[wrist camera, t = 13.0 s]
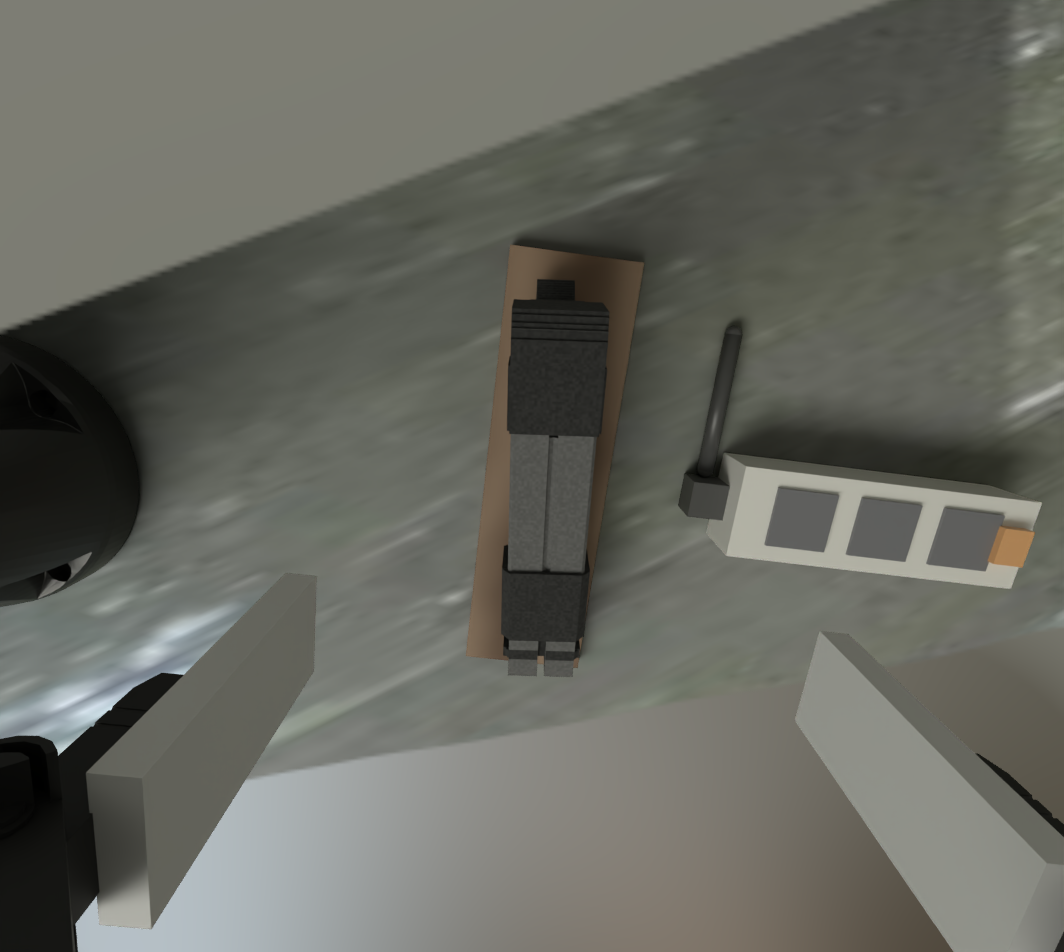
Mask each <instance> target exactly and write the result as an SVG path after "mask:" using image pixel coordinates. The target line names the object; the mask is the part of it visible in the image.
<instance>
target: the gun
mask: <svg viewBox="0 0 1064 952" xmlns="http://www.w3.org/2000/svg"><path fill="white" fill-rule="evenodd" d="M609 313H610V312H609V310H608V309H607V308H606V306H605V305H604V304H603V303H601V302H585V301H575V280H552V279H537V293H536V299H530V300H521V299H514V300H513V305H512V318H511V356H509V362H508V393H507V431H509V434H511V440H510V489H509V537H508V545H506V546H504V551H503V563H502V603H501V634H502V635H503V636H504V643H503V656H507V657H508V658H509V664H508V675H521V676H537V658H538V656H544V676H556V677H572V676H573V664H574V659H576V658H579V656H580V643H579V639H580V638H582V637H584V628H585V618H586V608H587V597H588V587H589V577H590V567H589V561H588V554H587V538H588V527H589V516H590V505H591V494H592V483H593V472H594V461H595V451H596V440H597V437H599V434H601V431H602V421H603V410H604V400H605V389H606V379H607V367H606V360H607V349H608V335H609Z"/></svg>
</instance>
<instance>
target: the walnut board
mask: <svg viewBox="0 0 1064 952" xmlns="http://www.w3.org/2000/svg"><path fill="white" fill-rule="evenodd" d="M643 268H644V263H642V262H635V261H627V260H620V259H613V258H605V257H598V256H590V255H583V254H576V253H568V252H561V251H553V250H546V249H539V248H531V247H524V246H516V245H510V253H509V262H508V271H507V281H506V290H505V299H504V308H503V318H502V327H501V336H500V345H499V355H498V364H497V373H496V382H495V391H494V401H493V410H492V419H491V428H490V438H489V447H488V456H487V465H486V475H485V484H484V493H483V502H482V512H481V521H480V530H479V539H478V548H477V558H476V567H475V576H474V585H473V595H472V604H471V613H470V622H469V632H468V641H467V650H466V656H471V657H480V658H490V659H499V660H508V661H509V658H508V657H507V656H503V643H504V636H503V635H502V634H501V603H502V563H503V551H504V546H506V545H508V537H509V489H510V440H511V434H509V431H507V393H508V362H509V356H511V318H512V305H513V300H514V299H521V300H530V299H536V293H537V279H552V280H575V301H585V302H601V303H603V304H604V305H605V306H606V308H607V309H608V310H609V312H610V313H609V335H608V349H607V360H606V367H607V379H606V389H605V400H604V410H603V421H602V431H601V434H599V437H597V440H596V451H595V461H594V472H593V483H592V494H591V505H590V516H589V527H588V538H587V554H588V561H589V567H590V577H589V587H588V597H587V607H588V601H589V595H590V589H591V583H592V577H593V571H594V565H595V559H596V553H597V547H598V541H599V535H600V529H601V522H602V516H603V510H604V504H605V498H606V492H607V486H608V480H609V474H610V468H611V462H612V456H613V450H614V444H615V438H616V431H617V425H618V419H619V413H620V407H621V401H622V395H623V389H624V383H625V377H626V371H627V365H628V359H629V353H630V347H631V340H632V334H633V328H634V322H635V316H636V310H637V304H638V298H639V292H640V286H641V280H642V274H643ZM586 613H587V608H586ZM585 620H586V618H585ZM582 638H583V637H582ZM582 638H580V639H579V643H580V650H581V644H582ZM578 662H579V658H576V659H574V664H573V668H578ZM537 664H544V656H538V658H537Z"/></svg>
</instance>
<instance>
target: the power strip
mask: <svg viewBox="0 0 1064 952" xmlns="http://www.w3.org/2000/svg"><path fill="white" fill-rule="evenodd" d="M741 339H742V330H741V329H740V328H739V327H737V326H731V327H729V328H728V329H727V330H726V332H725V336H724V340H723V345H722V350H721V355H720V360H719V365H718V370H717V375H716V380H715V385H714V389H713V394H712V399H711V404H710V409H709V414H708V419H707V424H706V429H705V433H704V438H703V443H702V448H701V453H700V458H699V463H698V468H697V472H698V474H699V475H695V474H687V473H685V474H684V479H683V484H682V489H681V494H680V499H679V504H678V506H679V507H680V508H681V509H682V511H683V512H684V513H685V514H686V515H687V516H688V517H696V518H705V519H709V523H708V527H707V532H706V534H707V535H708V536H709V537H710V538H711V539H712V540H713V542H714V543H715V544H716V545H717V546H718V547H719V548H720V549H721V551H722V552H723V553H724V554H725V555H726V556H732V557H741V558H749V559H758V560H767V561H775V562H784V563H792V564H801V565H810V566H818V567H827V568H835V569H844V570H852V571H861V572H870V573H878V574H887V575H895V576H904V577H912V578H921V579H930V580H938V581H947V582H955V583H964V584H972V585H981V586H990V587H998V588H1007V589H1011V587H1012V584H1013V581H1014V579H1015V576H1016V573H1017V570H1018V568H1019V567H1023V564H1024V561H1025V559H1026V556H1027V553H1028V551H1029V548H1030V545H1031V542H1032V540H1033V537H1034V534H1035V532H1033V531H1032V530H1033V527H1034V524H1035V521H1036V519H1037V516H1038V513H1039V511H1040V508H1041V505H1042V502H1039V501H1036V500H1033V499H1029V498H1026V497H1023V496H1020V495H1017V494H1014V493H1011V492H1008V491H1005V490H1002V489H999V488H996V487H993V486H990V485H983V484H975V483H967V482H959V481H951V480H943V479H935V478H927V477H919V476H910V475H902V474H894V473H886V472H878V471H870V470H862V469H854V468H846V467H838V466H829V465H821V464H813V463H805V462H797V461H789V460H781V459H773V458H765V457H756V456H748V455H740V454H732V453H723V457H722V462H721V467H720V471H719V476H718V477H711V475H712V474H713V471H714V466H715V461H716V457H717V452H718V447H719V443H720V438H721V433H722V428H723V424H724V419H725V414H726V410H727V405H728V400H729V395H730V391H731V386H732V381H733V377H734V372H735V367H736V362H737V358H738V353H739V348H740V344H741Z"/></svg>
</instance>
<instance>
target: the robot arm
mask: <svg viewBox="0 0 1064 952" xmlns="http://www.w3.org/2000/svg"><path fill="white" fill-rule="evenodd" d="M138 495H139V484H138V473H137V467H136V463H135V459H134V455H133V452H132V448H131V445H130V443H129V440H128V438H127V436H126V434H125V431H124V429H123V427H122V426H121V424H120V422H119V420H118V418H117V417H116V415H115V414H114V412H113V411H112V409H111V408H110V406H109V405H108V404H107V402H106V401H105V400H104V399H103V397H102V396H101V395H100V394H99V393H98V392H97V391H96V389H95V388H94V387H93V386H92V385H91V384H90V383H89V382H88V381H86V380H85V379H84V378H83V377H82V376H81V375H80V374H79V373H77V372H76V371H75V370H74V369H72V368H71V367H70V366H68V365H67V364H65V363H64V362H62V361H61V360H59V359H58V358H56V357H54V356H53V355H51V354H49V353H47V352H45V351H43V350H41V349H39V348H37V347H35V346H32V345H30V344H27V343H25V342H22V341H19V340H15V339H12V338H8V337H4V336H0V607H4V606H9V605H15V604H20V603H25V602H30V601H34V600H38V599H41V598H44V597H47V596H50V595H52V594H55V593H57V592H59V591H61V590H64V589H66V588H67V587H69V586H71V585H73V584H75V583H76V582H78V581H80V580H82V579H84V578H86V577H87V576H89V575H91V574H93V573H94V572H96V571H97V570H99V569H100V568H102V567H103V566H104V565H105V564H106V563H108V562H109V561H110V560H111V559H112V558H113V557H114V556H115V554H116V553H117V552H118V551H119V550H120V548H121V547H122V545H123V544H124V542H125V540H126V539H127V537H128V535H129V533H130V530H131V528H132V525H133V523H134V520H135V516H136V511H137V505H138ZM316 580H317V576H311V575H301V574H292V573H285V574H284V575H283V576H282V577H281V578H280V579H279V580H278V581H277V582H276V583H275V584H274V585H273V586H272V587H271V588H270V589H269V590H268V591H267V592H266V593H265V594H264V595H263V596H262V597H261V598H260V599H259V600H258V601H257V602H256V603H255V604H254V605H253V606H252V607H251V608H250V609H249V610H248V611H247V612H246V613H245V614H244V615H243V616H242V617H241V618H240V619H239V620H238V621H237V622H236V623H235V624H234V625H233V626H232V627H231V628H230V629H229V630H228V631H227V632H226V633H225V634H224V635H223V636H222V637H221V638H220V639H219V640H218V641H217V642H216V643H215V644H214V645H213V646H212V647H211V648H210V649H209V650H208V651H207V652H206V653H205V654H204V655H203V656H202V657H201V658H200V659H199V660H198V661H197V662H196V663H195V664H194V665H193V666H192V667H191V668H190V669H189V670H188V671H187V672H186V673H185V674H184V675H179V674H169V673H161V674H159V675H157V676H155V677H153V678H151V679H149V680H147V681H145V682H144V683H142V684H140V685H138V686H136V687H134V688H133V689H132V690H131V691H129V692H128V693H127V694H126V695H125V696H124V697H123V698H122V699H121V700H119V701H118V702H117V703H116V704H115V705H114V706H113V708H112V710H111V711H110V710H108V711H107V712H106V713H105V714H104V715H103V716H102V717H101V718H100V719H98V720H97V721H96V722H95V725H94V727H90V728H88V729H87V730H86V731H85V732H84V733H83V734H82V735H81V736H80V737H79V738H77V739H76V740H75V741H74V742H73V743H72V744H71V745H70V746H69V747H67V748H66V749H65V750H64V751H63V752H62V753H61V754H60V755H59V756H58V752H57V749H56V747H55V746H54V744H53V742H52V741H50V740H48V739H45V738H42V737H40V736H14V737H9V738H4V739H0V952H78V947H77V935H76V926H75V923H76V922H77V921H78V920H79V918H80V917H81V916H82V914H83V913H84V912H85V910H86V909H87V908H88V906H89V905H90V904H91V903H92V901H93V900H94V899H95V897H96V896H97V903H98V914H99V924H100V925H106V926H119V927H130V928H143V929H152V927H153V926H154V924H155V923H156V921H157V919H158V918H159V916H160V914H161V913H162V912H163V910H164V908H165V907H166V905H167V904H168V902H169V900H170V899H171V897H172V896H173V894H174V892H175V891H176V889H177V887H178V886H179V885H180V883H181V881H182V880H183V878H184V877H185V875H186V873H187V872H188V870H189V869H190V867H191V865H192V864H193V862H194V861H195V859H196V858H197V856H198V854H199V853H200V851H201V850H202V848H203V846H204V845H205V843H206V842H207V840H208V838H209V837H210V835H211V834H212V832H213V831H214V829H215V827H216V826H217V824H218V823H219V821H220V819H221V818H222V816H223V815H224V813H225V811H226V810H227V808H228V807H229V805H230V804H231V802H232V800H233V799H234V797H235V796H236V794H237V792H238V791H239V789H240V788H241V786H242V784H243V783H244V781H245V780H246V778H247V777H248V775H249V773H250V772H251V770H252V769H253V767H254V765H255V764H256V762H257V761H258V759H259V757H260V756H261V754H262V753H263V751H264V750H265V748H266V746H267V745H268V743H269V742H270V740H271V738H272V737H273V735H274V734H275V732H276V730H277V729H278V727H279V726H280V724H281V723H282V721H283V719H284V718H285V716H286V715H287V713H288V711H289V710H290V708H291V707H292V705H293V703H294V702H295V700H296V699H297V697H298V696H299V694H300V692H301V691H302V689H303V688H304V686H305V684H306V683H307V681H308V680H309V678H310V676H311V675H312V673H313V672H314V648H315V614H316ZM795 721H796V723H797V724H798V726H799V727H800V729H801V730H802V732H803V733H804V734H805V736H806V737H807V739H808V740H809V742H810V743H811V745H812V746H813V748H814V749H815V750H816V752H817V753H818V755H819V756H820V758H821V759H822V760H823V762H824V763H825V765H826V767H827V768H828V769H829V771H830V772H831V774H832V775H833V777H834V778H835V780H836V781H837V782H838V784H839V785H840V787H841V788H842V790H843V791H844V793H845V794H846V796H847V797H848V799H849V800H850V801H851V803H852V804H853V806H854V807H855V809H856V810H857V812H858V813H859V814H860V816H861V817H862V819H863V820H864V822H865V823H866V825H867V826H868V828H869V829H870V831H871V832H872V833H873V835H874V836H875V838H876V839H877V841H878V842H879V844H880V845H881V846H882V848H883V849H884V851H885V852H886V854H887V855H888V857H889V858H890V859H891V861H892V862H893V864H894V865H895V867H896V868H897V870H898V871H899V873H900V874H901V876H902V877H903V879H904V880H905V881H906V883H907V884H908V886H909V887H910V888H911V890H912V892H913V893H914V895H915V896H916V897H917V899H918V900H919V902H920V903H921V905H922V906H923V908H924V909H925V910H926V912H927V913H928V915H929V916H930V918H931V919H932V921H933V922H934V924H935V925H936V927H937V928H938V929H939V931H940V932H941V934H942V935H943V937H944V938H945V939H946V941H947V943H948V944H949V945H950V947H951V948H952V950H953V951H954V952H1064V824H1063V823H1061V822H1060V821H1059V820H1058V819H1056V818H1053V817H1052V813H1050V812H1049V811H1048V810H1047V809H1046V808H1045V807H1044V806H1043V805H1042V804H1041V803H1040V802H1039V801H1037V800H1033V799H1032V795H1031V794H1030V793H1029V792H1028V791H1027V790H1026V789H1024V788H1023V787H1022V786H1021V785H1020V784H1019V783H1018V782H1017V781H1016V780H1014V778H1012V777H1011V776H1010V775H1009V774H1008V773H1007V772H1005V771H1003V770H1002V769H1000V768H999V767H998V766H996V765H994V764H993V763H991V762H990V761H988V760H987V759H985V758H984V757H982V756H981V755H979V754H976V753H974V752H973V751H972V750H971V749H970V748H969V747H967V746H966V745H965V744H964V743H963V742H962V741H961V740H960V739H959V738H958V737H957V736H956V735H955V734H954V733H952V732H951V730H949V729H948V728H947V727H946V726H945V725H944V724H943V723H942V722H941V721H940V720H939V719H938V718H937V717H936V716H935V715H934V714H932V713H931V712H930V711H929V710H928V709H927V708H926V707H925V706H924V705H923V704H922V703H921V702H920V701H919V700H918V699H917V698H915V697H914V696H913V695H912V694H911V693H910V692H909V691H908V690H907V689H906V688H905V687H904V686H903V685H902V684H901V683H900V682H898V681H897V680H896V679H895V678H894V677H893V676H892V675H891V674H890V673H889V672H888V671H887V670H886V669H885V668H884V667H883V666H882V665H881V664H879V663H878V662H877V661H876V660H875V659H874V658H873V657H872V656H871V655H870V654H869V653H868V652H867V651H866V650H865V649H864V648H862V647H861V646H860V645H859V644H858V643H857V642H856V641H855V640H854V639H853V638H852V637H851V636H850V635H849V634H844V633H834V632H825V631H820V632H819V636H818V639H817V643H816V647H815V650H814V654H813V657H812V661H811V664H810V668H809V672H808V675H807V679H806V682H805V686H804V690H803V693H802V697H801V700H800V704H799V707H798V711H797V715H796V718H795Z"/></svg>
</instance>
